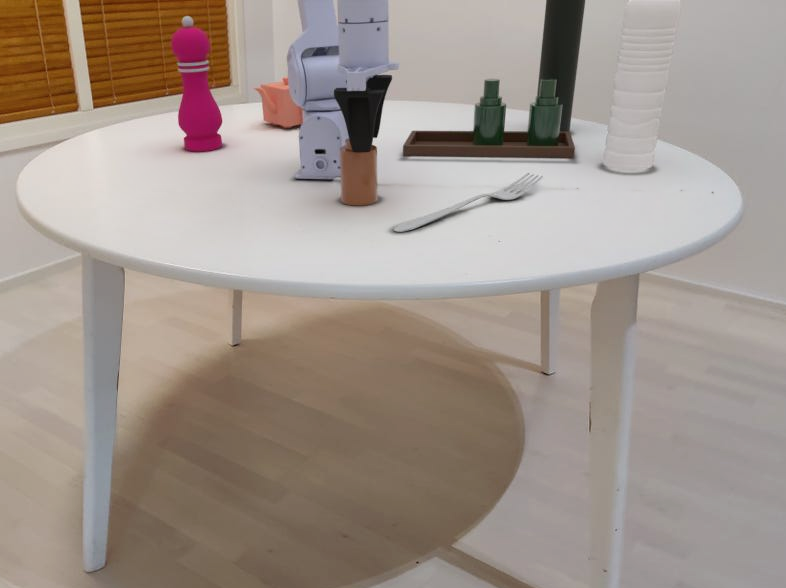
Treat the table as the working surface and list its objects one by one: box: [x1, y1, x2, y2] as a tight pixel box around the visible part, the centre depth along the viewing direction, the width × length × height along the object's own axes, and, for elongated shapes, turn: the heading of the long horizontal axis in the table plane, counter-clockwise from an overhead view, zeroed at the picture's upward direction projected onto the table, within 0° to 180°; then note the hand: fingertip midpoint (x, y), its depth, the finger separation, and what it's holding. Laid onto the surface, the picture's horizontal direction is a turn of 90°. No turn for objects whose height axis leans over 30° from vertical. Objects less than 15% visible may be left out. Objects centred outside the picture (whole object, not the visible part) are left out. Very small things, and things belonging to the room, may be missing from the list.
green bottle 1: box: [472, 78, 507, 146], centre depth 106 cm, size 5×5×10 cm
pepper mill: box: [170, 15, 223, 152], centre depth 114 cm, size 7×7×20 cm
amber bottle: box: [339, 138, 378, 207], centre depth 87 cm, size 5×5×10 cm
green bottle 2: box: [526, 78, 563, 146], centre depth 104 cm, size 5×5×10 cm
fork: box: [393, 172, 544, 233], centre depth 85 cm, size 3×24×2 cm, turn 128°
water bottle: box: [601, 0, 682, 171], centre depth 92 cm, size 9×6×25 cm
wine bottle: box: [536, 0, 586, 132], centre depth 111 cm, size 6×6×30 cm
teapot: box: [252, 76, 303, 129], centre depth 131 cm, size 12×15×8 cm
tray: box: [402, 130, 576, 160], centre depth 108 cm, size 11×25×2 cm, turn 77°
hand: (365, 144), depth 86 cm, fingers open, 7 cm apart
